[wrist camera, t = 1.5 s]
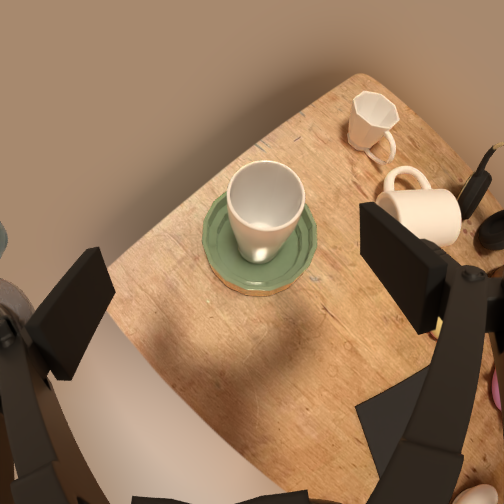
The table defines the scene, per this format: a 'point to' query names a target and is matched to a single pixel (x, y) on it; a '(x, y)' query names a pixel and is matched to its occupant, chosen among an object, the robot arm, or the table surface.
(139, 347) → the table surface
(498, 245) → the headphones
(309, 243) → the bowl
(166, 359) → the table surface
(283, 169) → the drinking glass
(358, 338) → the table surface
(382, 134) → the cup
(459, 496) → the flower vase
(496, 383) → the teapot
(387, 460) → the mat
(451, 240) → the mug
